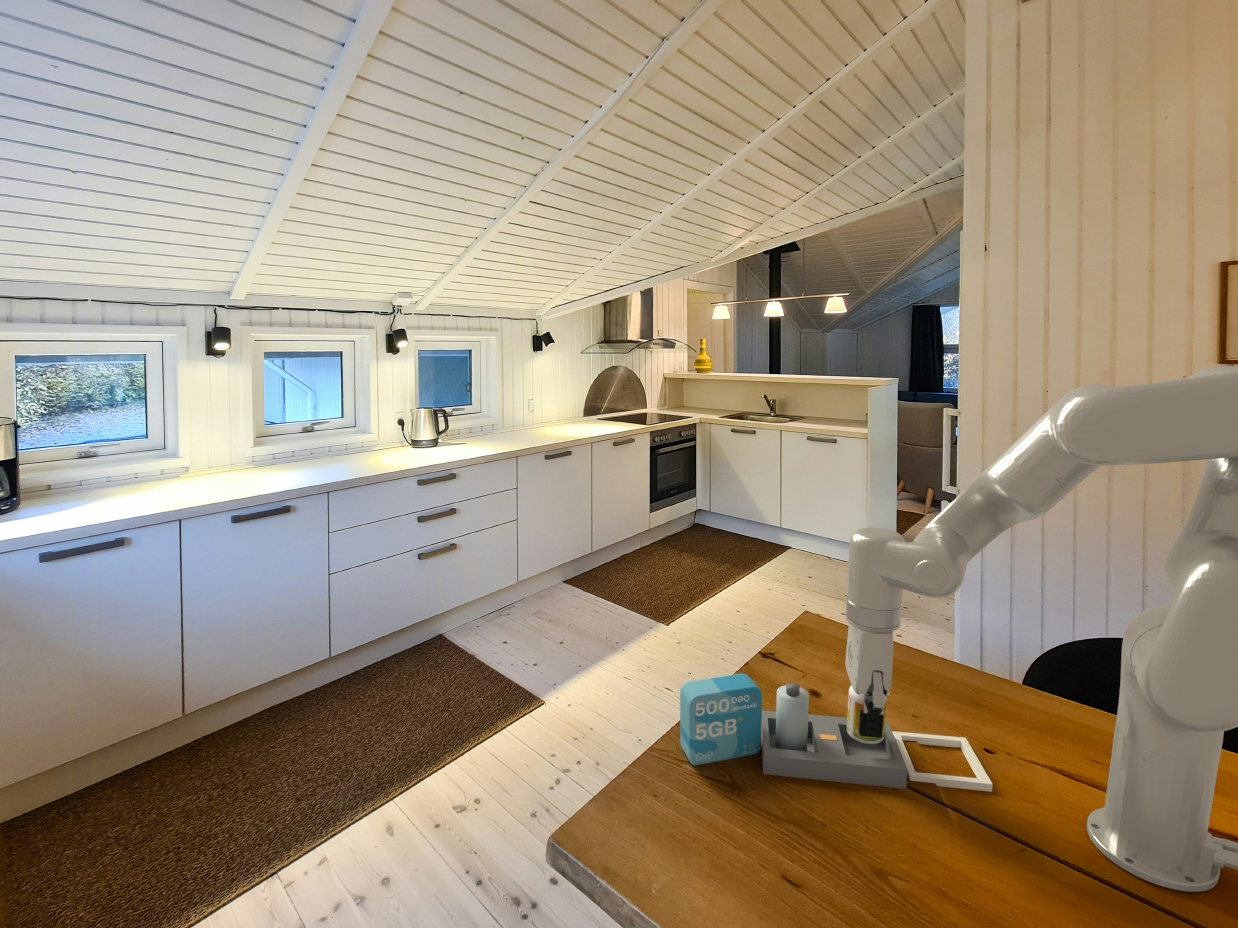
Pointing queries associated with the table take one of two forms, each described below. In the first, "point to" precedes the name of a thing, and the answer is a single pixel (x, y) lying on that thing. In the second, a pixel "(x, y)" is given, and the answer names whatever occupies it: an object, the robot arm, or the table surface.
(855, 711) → the supplement bottle
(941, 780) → the tray frame
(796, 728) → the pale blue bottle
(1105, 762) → the table surface
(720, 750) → the data package
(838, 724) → the grey compartment tray
